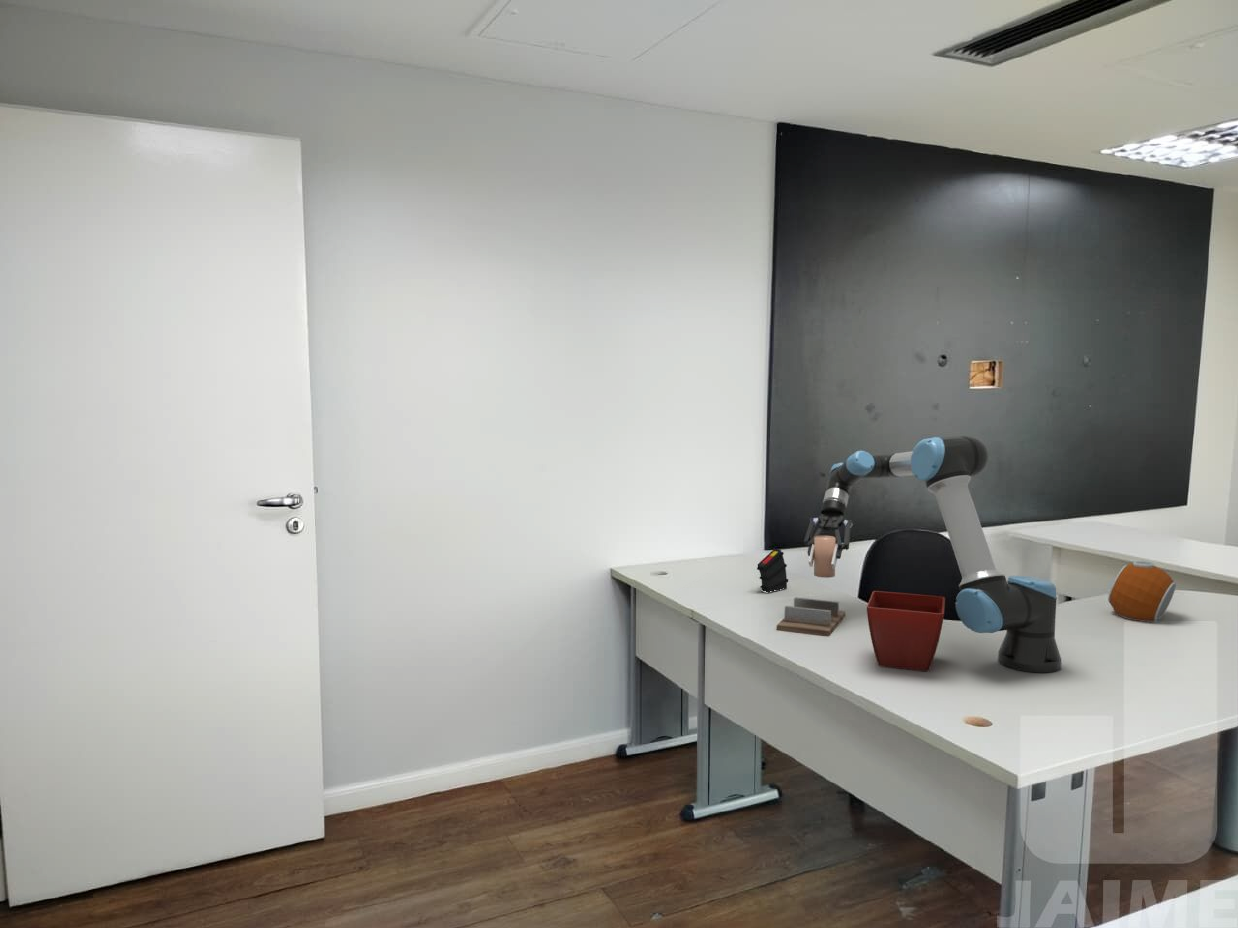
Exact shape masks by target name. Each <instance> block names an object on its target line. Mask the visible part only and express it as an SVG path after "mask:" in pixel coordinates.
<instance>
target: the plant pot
mask: <svg viewBox="0 0 1238 928" xmlns="http://www.w3.org/2000/svg"><path fill="white" fill-rule="evenodd" d="M945 605H946V597H945V596H936V595H928V594H915V593H905V592H893V591H891V592H890V591H881V590H873V591H872V593H871V595H870V598H869V600H868V602H867V604H866V614H867V621H868V622H867V623H868V628H869V634H870V639H871V644H872V648H873V652H874V654H875V655H874V656H875V659H876V662H877V664H878V666H879V667H888V668H894V669H895V668H896V669H897V668H898V669H903V670H904V669H905V670H913V671H921V672H928V671H930V668H931V666H932V664H933V661H934V658H935V655H936V652H937V649H938V645H939V641H940V637H941V633H942V628H943V624H944V616H945Z"/></svg>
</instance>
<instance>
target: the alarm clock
mask: <svg viewBox="0 0 1238 928" xmlns="http://www.w3.org/2000/svg"><path fill="white" fill-rule="evenodd" d="M1176 584H1177V583H1176V582H1174V580H1173V579H1172V577H1171V575H1169V574H1168V573H1167V572H1166V571H1165V570H1163V569H1161V568H1160V567H1157V566H1156V565H1155V564H1154V563H1153V562H1150V561H1140V560H1138V561H1133V563H1131V564H1125V565H1123V566H1122V568H1121V569H1120V571H1118V573H1117V575H1116V577H1115V579H1114V580H1113V583H1112V585H1111V588H1110V590H1109V593H1108V596H1107V598H1108V599H1107V601H1108V603H1109V604H1110V606H1111V607H1112V608H1113V610H1114V612H1116V613H1117V614H1118V615H1120V616H1119V617H1122V618H1124V619H1125V618H1126V619H1128V620H1132V619H1134V620H1133V621H1136V620H1140V621H1139V622H1145V621H1156V622H1157V621H1159V620H1160V619H1161V618H1163V616H1164V615H1165V613H1166V611H1167V609H1168V607H1169V606H1170V604H1171V601H1172V599H1173V596H1174V594H1175V590H1176ZM1158 619H1159V620H1158Z"/></svg>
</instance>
